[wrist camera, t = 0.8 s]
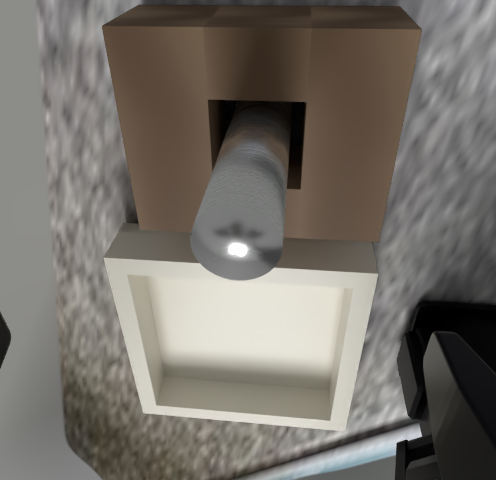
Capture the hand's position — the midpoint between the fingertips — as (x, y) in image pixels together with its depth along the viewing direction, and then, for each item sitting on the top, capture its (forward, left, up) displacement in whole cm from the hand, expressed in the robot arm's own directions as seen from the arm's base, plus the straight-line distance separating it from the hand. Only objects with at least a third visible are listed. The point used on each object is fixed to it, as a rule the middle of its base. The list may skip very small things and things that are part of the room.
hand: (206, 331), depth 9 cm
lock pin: (0, 0, -13) cm, 13 cm away
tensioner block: (0, 0, -13) cm, 13 cm away
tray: (+1, +13, -13) cm, 18 cm away
